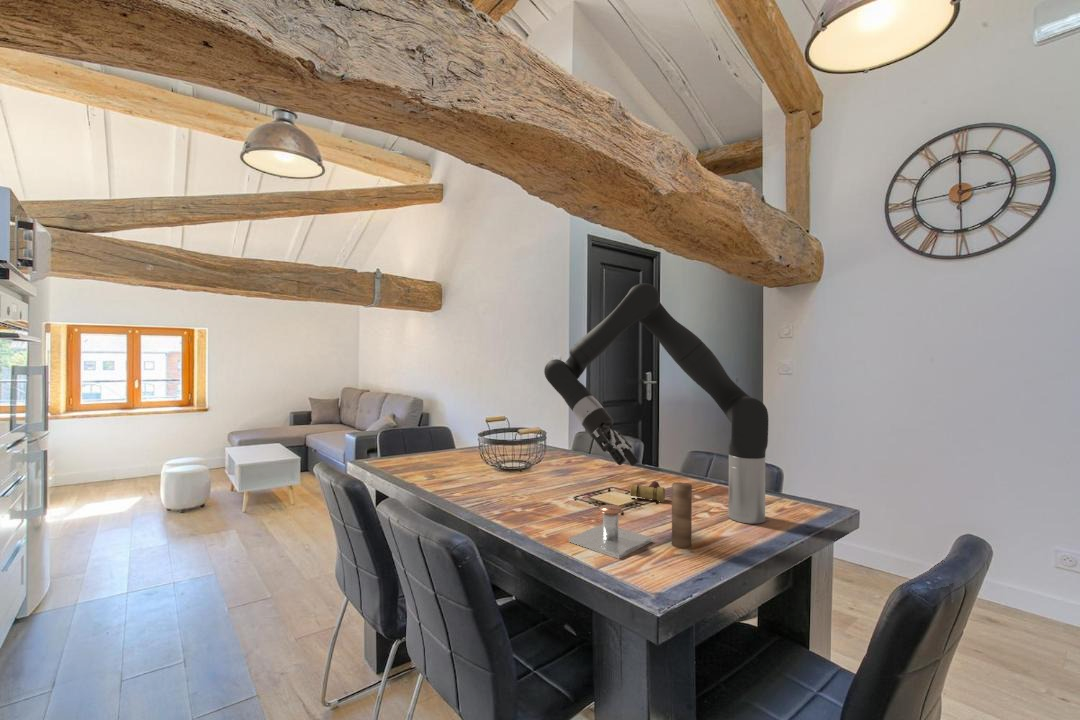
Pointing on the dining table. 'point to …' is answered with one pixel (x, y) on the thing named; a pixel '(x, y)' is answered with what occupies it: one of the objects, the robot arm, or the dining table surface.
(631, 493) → the olive strapped bedroll
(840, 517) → the dining table surface
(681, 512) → the walnut dowel
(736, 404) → the robot arm
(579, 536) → the steel post
